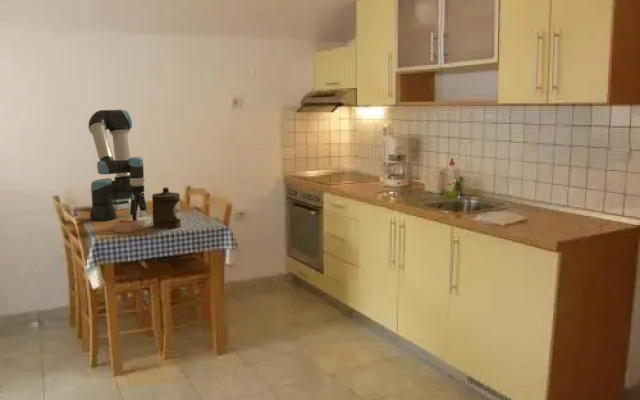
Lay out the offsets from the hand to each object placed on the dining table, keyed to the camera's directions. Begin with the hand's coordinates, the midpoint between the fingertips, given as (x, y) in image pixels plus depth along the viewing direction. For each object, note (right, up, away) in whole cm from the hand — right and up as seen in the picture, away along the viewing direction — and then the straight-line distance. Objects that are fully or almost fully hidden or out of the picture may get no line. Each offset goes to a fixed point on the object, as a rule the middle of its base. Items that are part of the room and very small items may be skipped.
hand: (139, 223), depth 335 cm
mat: (0, -1, 0) cm, 1 cm away
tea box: (-32, +8, +54) cm, 63 cm away
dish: (-2, -3, -16) cm, 16 cm away
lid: (0, 0, 0) cm, 0 cm away
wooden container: (+17, -2, -4) cm, 17 cm away
